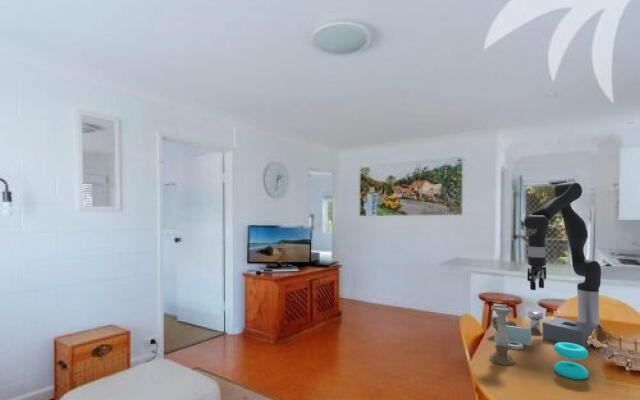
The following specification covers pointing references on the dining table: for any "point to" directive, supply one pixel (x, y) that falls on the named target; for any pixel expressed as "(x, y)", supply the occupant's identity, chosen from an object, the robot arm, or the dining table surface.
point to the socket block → (568, 331)
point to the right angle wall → (518, 337)
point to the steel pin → (535, 319)
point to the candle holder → (502, 337)
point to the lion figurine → (509, 323)
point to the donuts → (569, 367)
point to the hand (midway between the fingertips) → (537, 288)
